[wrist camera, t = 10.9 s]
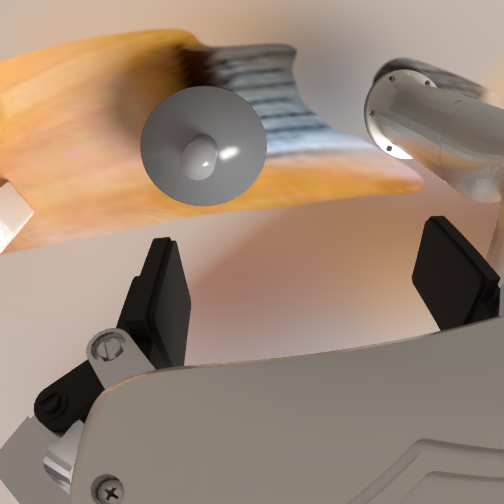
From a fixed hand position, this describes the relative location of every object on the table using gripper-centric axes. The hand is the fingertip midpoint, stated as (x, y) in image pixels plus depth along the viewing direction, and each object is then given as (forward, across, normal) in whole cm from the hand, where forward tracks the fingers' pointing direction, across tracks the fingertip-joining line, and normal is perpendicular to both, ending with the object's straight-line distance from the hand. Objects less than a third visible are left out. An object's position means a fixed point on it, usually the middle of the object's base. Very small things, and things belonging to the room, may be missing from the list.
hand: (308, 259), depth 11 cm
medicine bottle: (+30, +40, +8) cm, 51 cm away
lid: (+24, +6, +2) cm, 25 cm away
